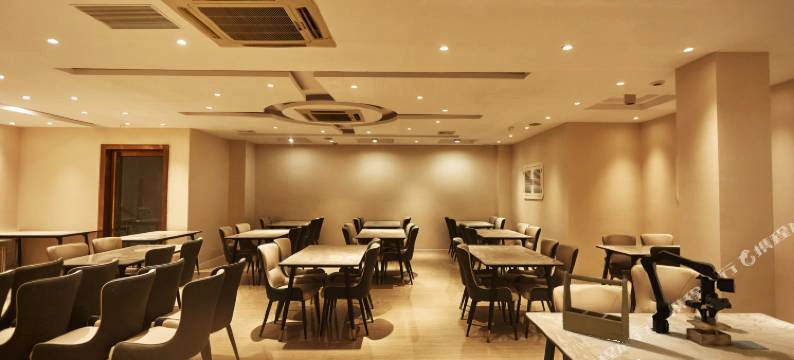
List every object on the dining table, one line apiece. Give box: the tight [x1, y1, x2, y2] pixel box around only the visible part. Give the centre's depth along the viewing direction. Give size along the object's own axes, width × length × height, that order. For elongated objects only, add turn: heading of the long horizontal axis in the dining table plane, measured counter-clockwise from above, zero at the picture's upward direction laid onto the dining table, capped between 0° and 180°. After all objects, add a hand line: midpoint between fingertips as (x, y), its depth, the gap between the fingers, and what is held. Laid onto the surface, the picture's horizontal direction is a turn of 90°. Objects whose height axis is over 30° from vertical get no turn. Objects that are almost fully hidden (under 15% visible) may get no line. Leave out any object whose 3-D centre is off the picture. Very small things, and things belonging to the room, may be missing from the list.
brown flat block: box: [685, 327, 732, 347], centre depth 194 cm, size 14×10×5 cm
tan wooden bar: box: [685, 312, 701, 320], centre depth 207 cm, size 2×13×2 cm, turn 0°
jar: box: [696, 306, 719, 321], centre depth 218 cm, size 9×8×12 cm
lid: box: [686, 316, 732, 331], centre depth 194 cm, size 14×10×5 cm
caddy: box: [561, 270, 630, 344], centre depth 204 cm, size 29×11×30 cm, turn 47°
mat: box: [731, 339, 770, 350], centre depth 190 cm, size 13×10×1 cm
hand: (708, 321), depth 194 cm, fingers closed on lid, 3 cm apart
